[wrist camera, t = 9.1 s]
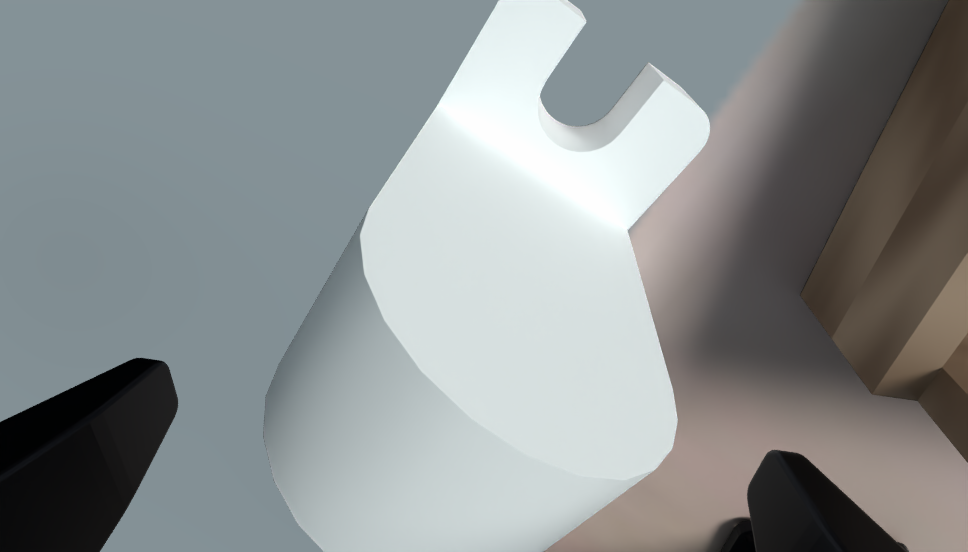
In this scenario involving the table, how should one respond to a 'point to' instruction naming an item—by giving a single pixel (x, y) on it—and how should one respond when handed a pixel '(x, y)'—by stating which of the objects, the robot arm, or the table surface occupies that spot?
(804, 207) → the table surface
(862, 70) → the table surface
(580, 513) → the cable organizer
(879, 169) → the tray
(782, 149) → the table surface
